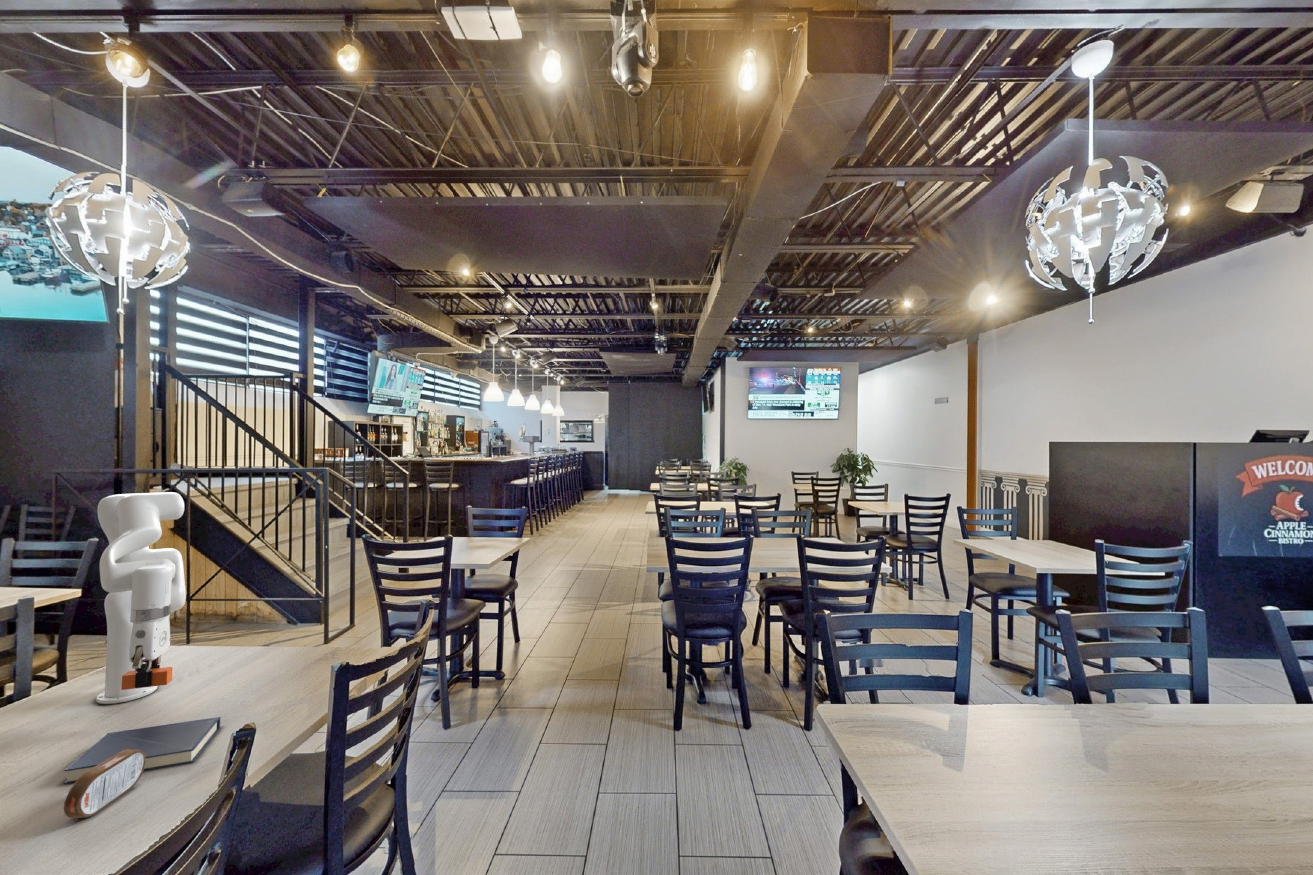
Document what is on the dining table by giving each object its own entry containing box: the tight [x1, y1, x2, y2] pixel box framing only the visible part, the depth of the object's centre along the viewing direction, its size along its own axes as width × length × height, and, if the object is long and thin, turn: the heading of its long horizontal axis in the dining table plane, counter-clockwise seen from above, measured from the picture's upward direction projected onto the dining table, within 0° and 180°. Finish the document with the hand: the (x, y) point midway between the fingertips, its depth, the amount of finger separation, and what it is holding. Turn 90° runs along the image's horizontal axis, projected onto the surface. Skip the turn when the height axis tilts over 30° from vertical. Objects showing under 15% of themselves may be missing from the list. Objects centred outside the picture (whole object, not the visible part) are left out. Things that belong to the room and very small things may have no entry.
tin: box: [63, 749, 146, 819], centre depth 107 cm, size 15×3×8 cm, turn 5°
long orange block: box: [121, 666, 173, 690], centre depth 137 cm, size 3×9×4 cm, turn 113°
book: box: [63, 716, 221, 785], centre depth 124 cm, size 16×22×3 cm
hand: (147, 683), depth 136 cm, fingers closed on long orange block, 3 cm apart
